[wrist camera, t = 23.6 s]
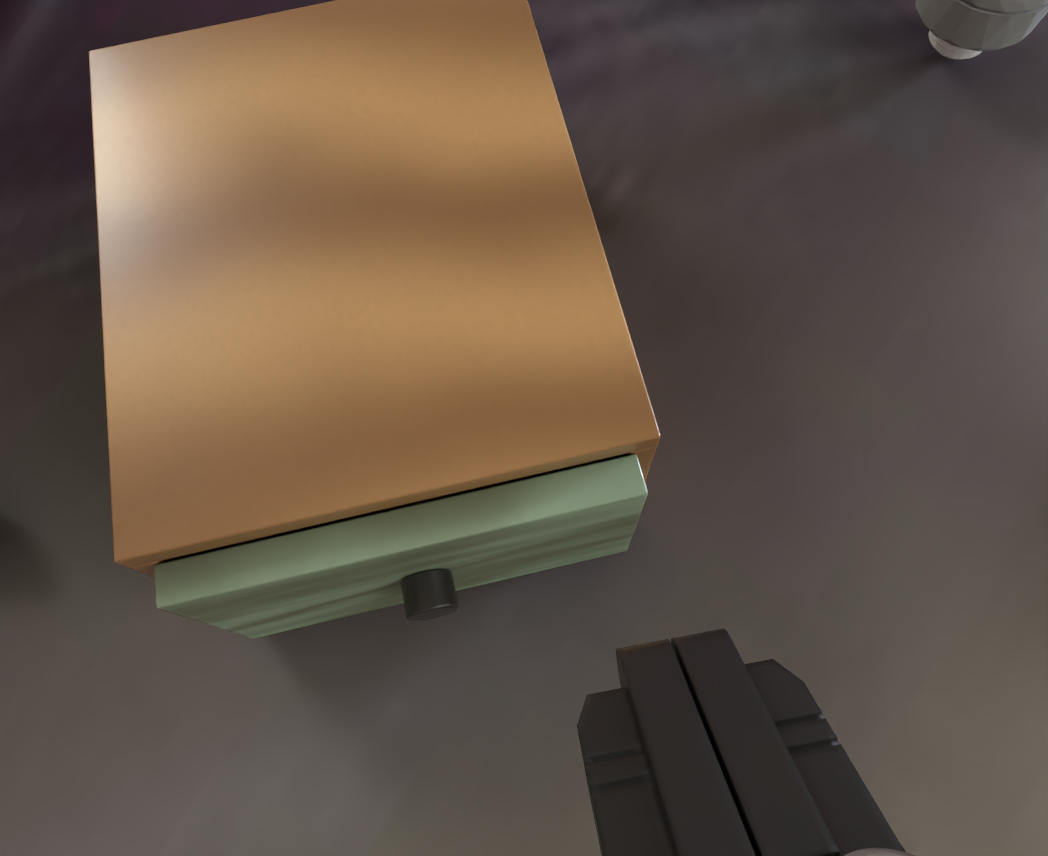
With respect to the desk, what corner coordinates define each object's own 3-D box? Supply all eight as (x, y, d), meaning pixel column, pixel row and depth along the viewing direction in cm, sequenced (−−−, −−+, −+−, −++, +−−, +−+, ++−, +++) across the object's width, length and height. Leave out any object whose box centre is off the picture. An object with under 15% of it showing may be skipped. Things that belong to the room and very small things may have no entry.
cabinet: (633, 521, 30) (662, 437, 22) (241, 612, 30) (113, 563, 21) (526, 142, 37) (516, -38, 28) (199, 212, 36) (87, 49, 27)
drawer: (637, 584, 29) (661, 536, 22) (256, 674, 28) (158, 654, 21) (524, 174, 35) (515, 37, 28) (209, 242, 34) (122, 119, 27)
